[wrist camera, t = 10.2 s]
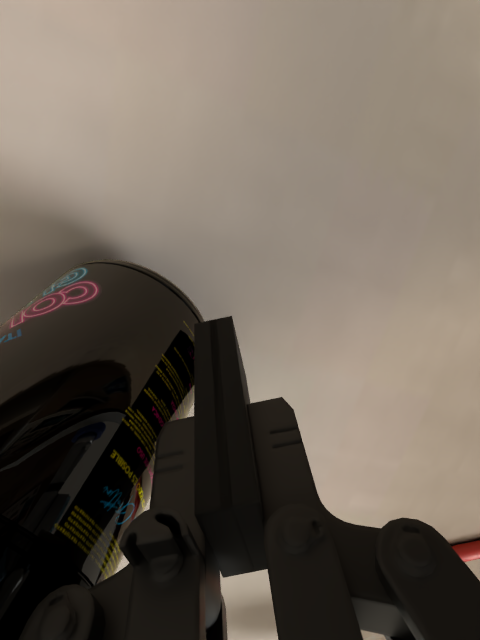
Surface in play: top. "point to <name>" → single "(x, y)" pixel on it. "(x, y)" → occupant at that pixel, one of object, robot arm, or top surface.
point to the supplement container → (84, 423)
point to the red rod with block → (468, 550)
